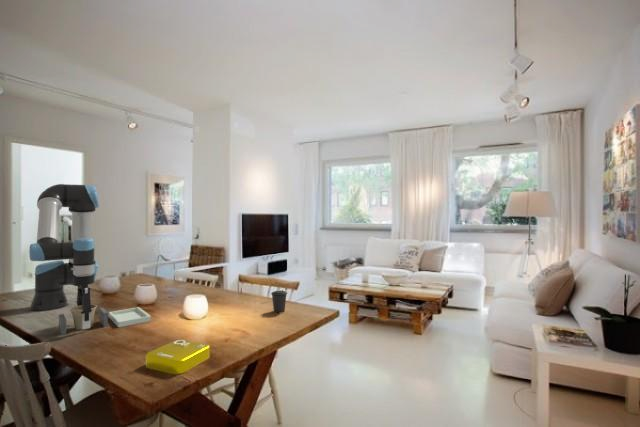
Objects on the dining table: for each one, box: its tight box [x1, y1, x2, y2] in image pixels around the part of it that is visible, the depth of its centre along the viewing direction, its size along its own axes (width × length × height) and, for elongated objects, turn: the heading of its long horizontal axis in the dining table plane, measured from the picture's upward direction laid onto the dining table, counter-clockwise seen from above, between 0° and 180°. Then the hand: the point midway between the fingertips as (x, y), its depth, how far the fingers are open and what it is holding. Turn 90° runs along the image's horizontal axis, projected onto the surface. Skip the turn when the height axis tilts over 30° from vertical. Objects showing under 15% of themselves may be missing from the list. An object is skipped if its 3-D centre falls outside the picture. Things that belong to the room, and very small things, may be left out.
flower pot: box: [69, 304, 98, 331], centre depth 146 cm, size 9×9×9 cm
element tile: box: [145, 339, 211, 375], centre depth 112 cm, size 15×15×5 cm
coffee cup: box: [271, 290, 288, 314], centre depth 170 cm, size 8×8×10 cm
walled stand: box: [58, 307, 109, 336], centre depth 146 cm, size 10×16×6 cm, turn 132°
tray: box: [108, 306, 152, 328], centre depth 157 cm, size 20×13×2 cm, turn 42°
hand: (83, 324), depth 146 cm, fingers open, 13 cm apart
